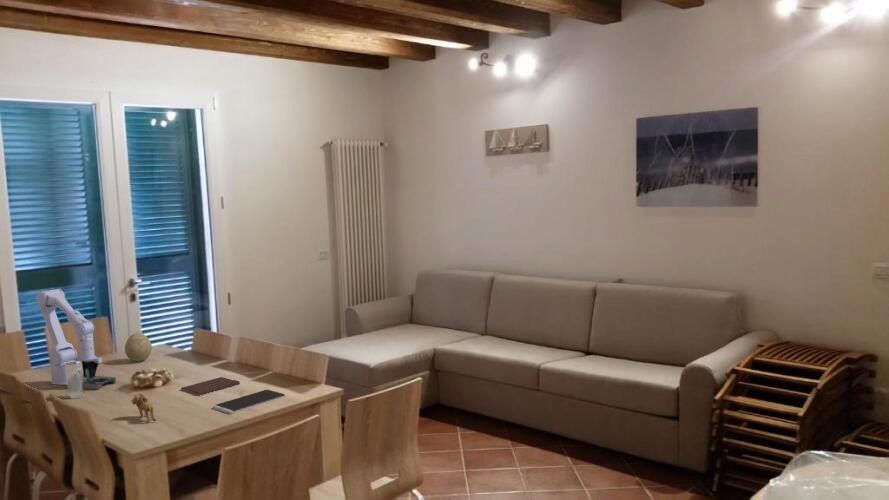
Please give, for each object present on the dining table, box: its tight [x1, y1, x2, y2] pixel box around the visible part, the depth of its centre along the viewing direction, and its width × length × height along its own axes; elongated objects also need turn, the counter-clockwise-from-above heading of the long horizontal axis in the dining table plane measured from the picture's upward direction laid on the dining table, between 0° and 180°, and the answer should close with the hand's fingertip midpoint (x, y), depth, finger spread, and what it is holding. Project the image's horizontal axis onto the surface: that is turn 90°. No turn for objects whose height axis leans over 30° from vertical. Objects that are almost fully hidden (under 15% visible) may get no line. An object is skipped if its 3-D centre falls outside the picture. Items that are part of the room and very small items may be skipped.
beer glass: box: [65, 361, 85, 400], centre depth 291 cm, size 7×7×15 cm
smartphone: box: [212, 389, 287, 415], centre depth 275 cm, size 13×27×2 cm, turn 141°
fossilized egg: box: [124, 332, 153, 363], centre depth 350 cm, size 13×13×15 cm
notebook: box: [180, 376, 241, 396], centre depth 298 cm, size 15×20×2 cm
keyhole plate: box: [83, 375, 117, 391], centre depth 307 cm, size 13×11×3 cm
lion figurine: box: [130, 393, 157, 424], centre depth 259 cm, size 15×5×9 cm, turn 51°
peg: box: [85, 368, 95, 382], centre depth 308 cm, size 4×4×7 cm
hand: (89, 377), depth 308 cm, fingers closed on peg, 3 cm apart
